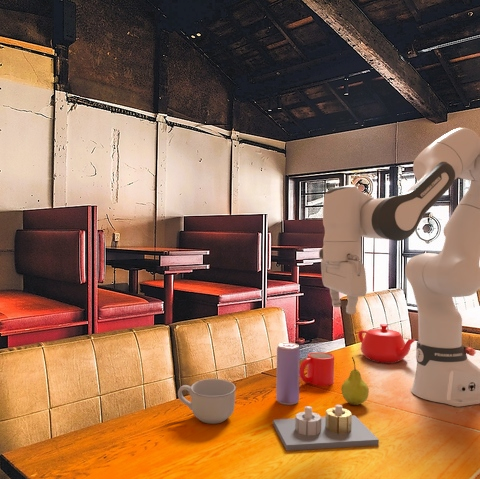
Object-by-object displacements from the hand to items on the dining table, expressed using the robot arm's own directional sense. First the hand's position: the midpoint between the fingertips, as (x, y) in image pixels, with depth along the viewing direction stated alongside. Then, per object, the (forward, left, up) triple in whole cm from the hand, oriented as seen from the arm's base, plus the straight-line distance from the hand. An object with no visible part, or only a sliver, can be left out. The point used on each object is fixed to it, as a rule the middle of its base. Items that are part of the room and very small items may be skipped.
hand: (343, 310), depth 114 cm
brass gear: (+4, +9, -25) cm, 27 cm away
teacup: (+33, -4, -26) cm, 42 cm away
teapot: (-33, -47, -26) cm, 63 cm away
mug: (-1, -26, -26) cm, 37 cm away
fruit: (-6, -8, -26) cm, 28 cm away
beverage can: (+11, -12, -26) cm, 31 cm away
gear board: (+8, +9, -26) cm, 29 cm away
